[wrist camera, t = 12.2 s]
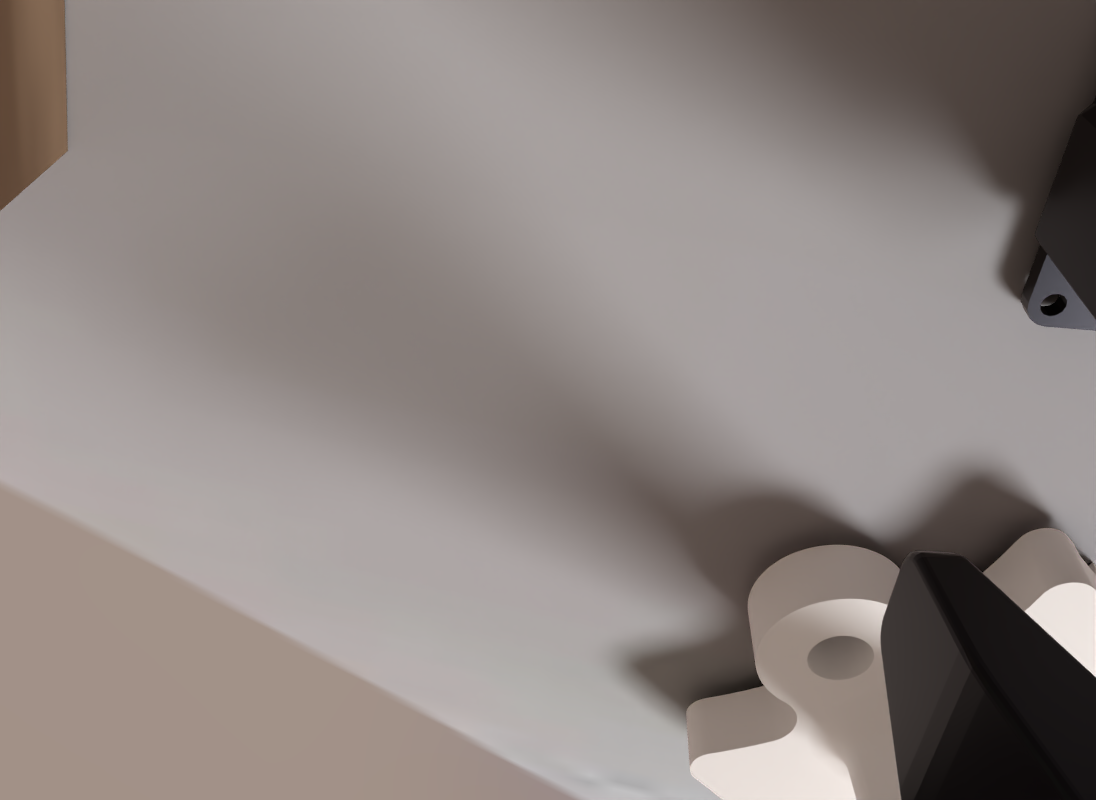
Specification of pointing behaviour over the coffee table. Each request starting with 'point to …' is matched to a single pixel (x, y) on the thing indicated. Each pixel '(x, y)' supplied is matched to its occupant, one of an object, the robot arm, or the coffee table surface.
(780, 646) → the joystick
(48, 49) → the base block
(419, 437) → the coffee table surface
